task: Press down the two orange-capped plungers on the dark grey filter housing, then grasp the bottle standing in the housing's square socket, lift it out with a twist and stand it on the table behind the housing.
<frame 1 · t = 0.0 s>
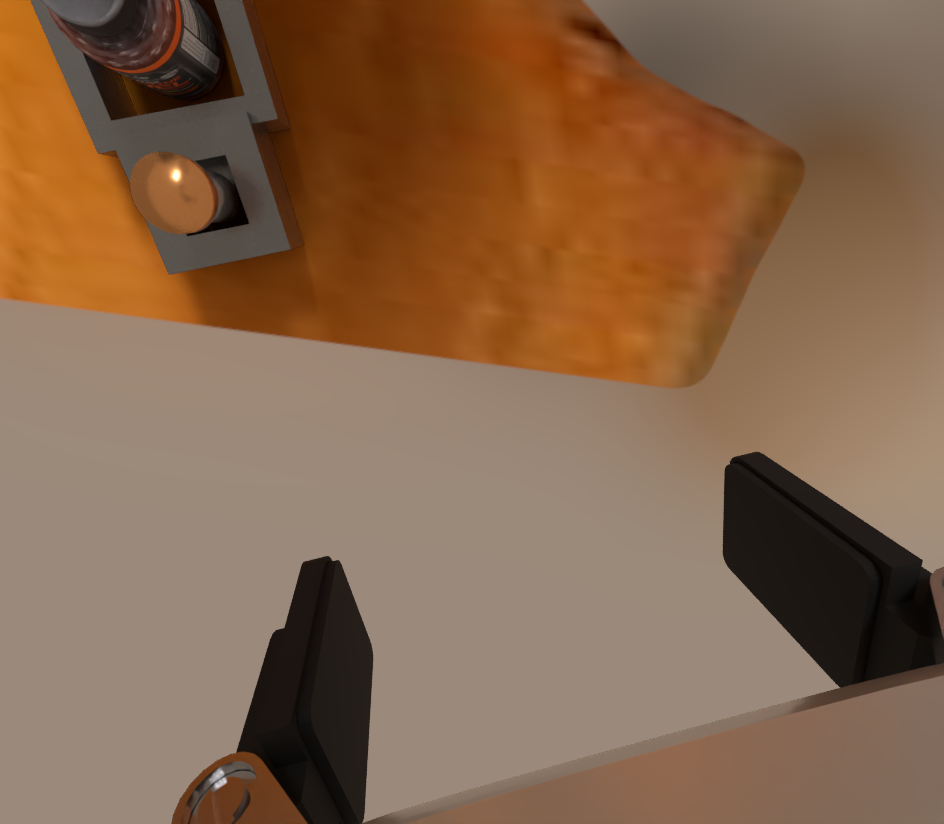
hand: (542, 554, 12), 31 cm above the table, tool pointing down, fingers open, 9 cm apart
housing: (177, 48, 31), on the table
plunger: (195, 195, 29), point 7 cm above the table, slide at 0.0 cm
supplement bottle: (179, 50, 32), resting in housing
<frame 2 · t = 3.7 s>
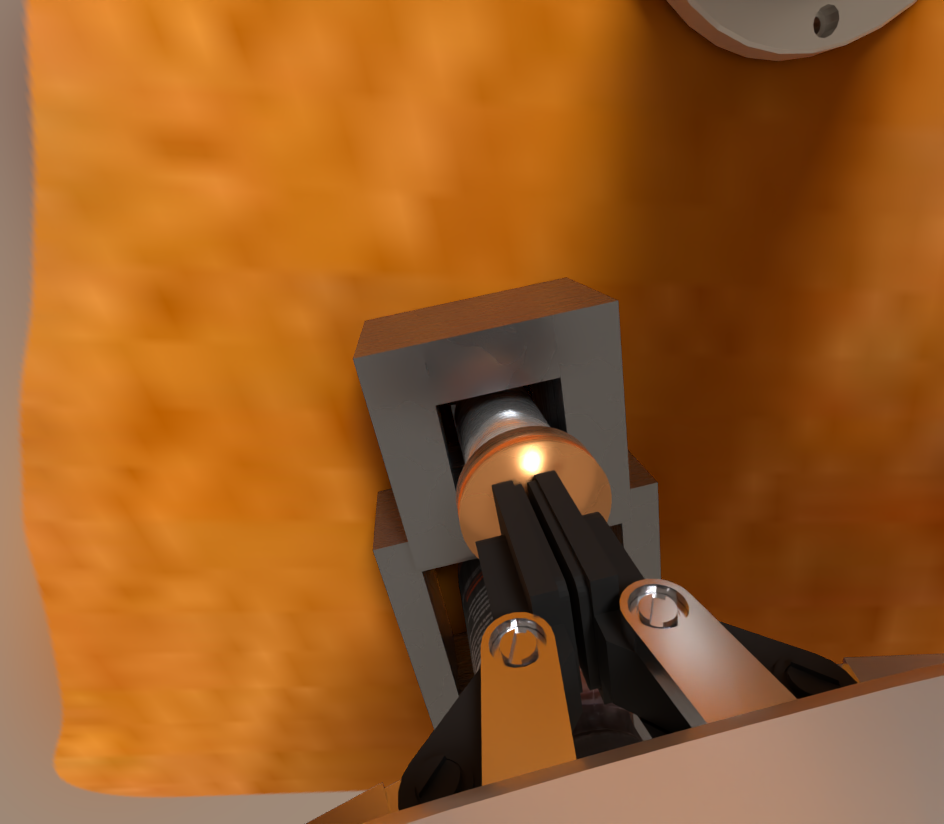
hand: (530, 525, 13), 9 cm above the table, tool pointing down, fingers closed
housing: (516, 558, 24), on the table
supplement bottle: (515, 555, 24), resting in housing
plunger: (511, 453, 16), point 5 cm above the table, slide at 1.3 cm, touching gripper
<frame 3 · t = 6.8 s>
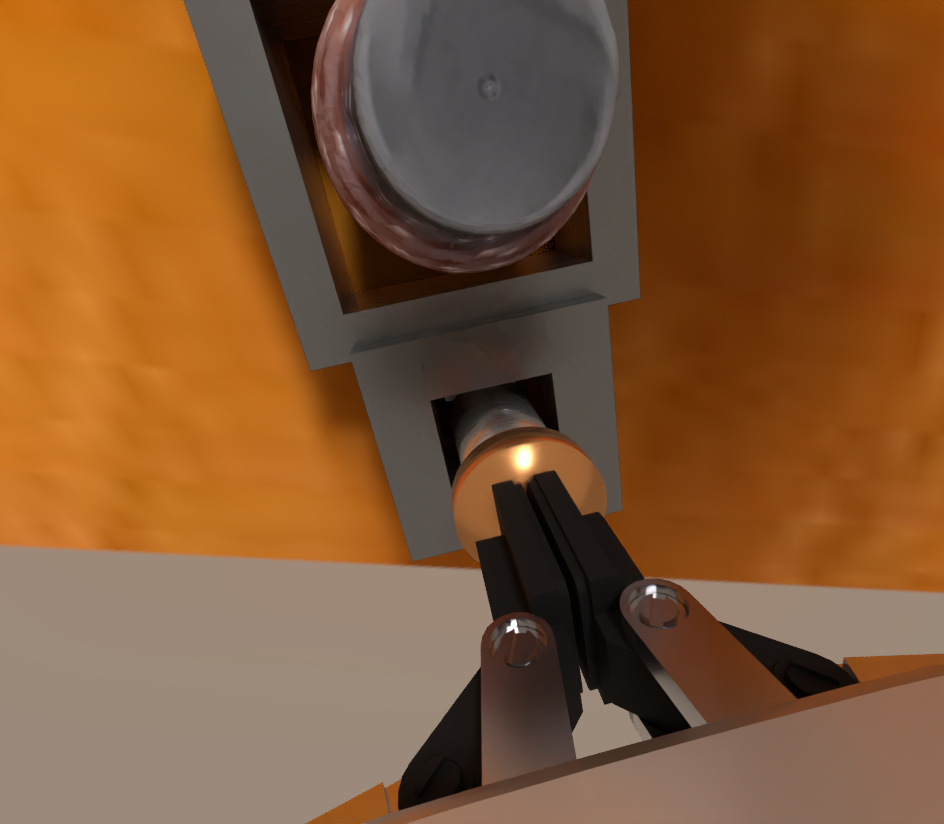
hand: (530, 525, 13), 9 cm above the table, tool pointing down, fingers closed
housing: (433, 157, 17), on the table
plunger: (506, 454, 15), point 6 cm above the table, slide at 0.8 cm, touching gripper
supplement bottle: (433, 157, 17), resting in housing
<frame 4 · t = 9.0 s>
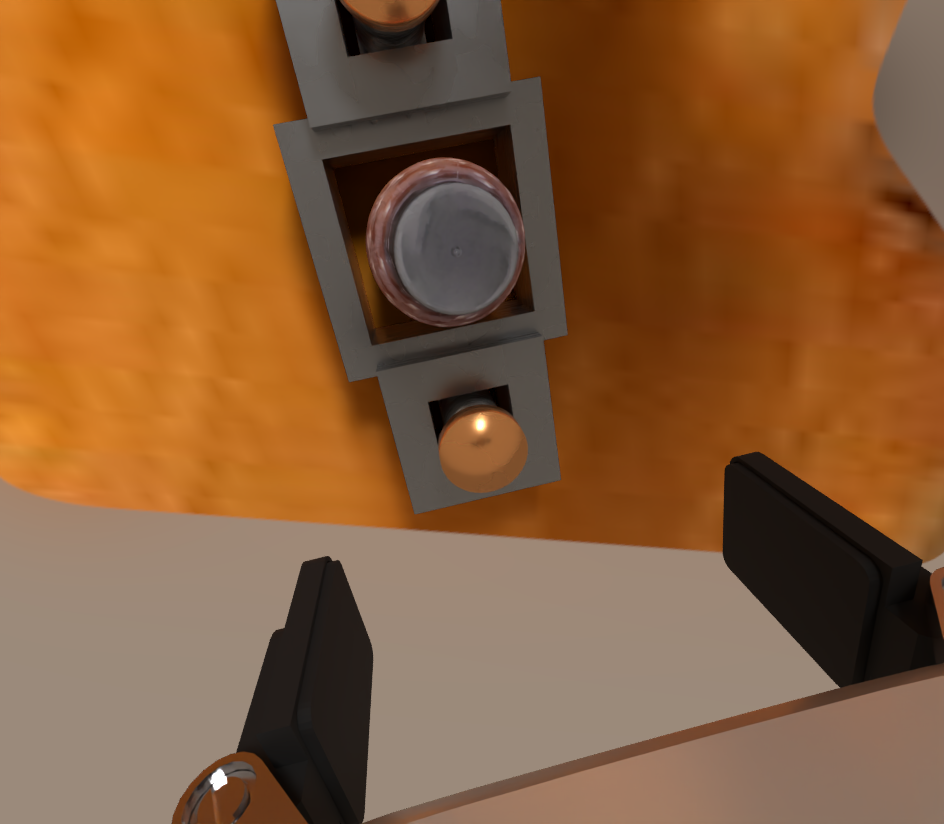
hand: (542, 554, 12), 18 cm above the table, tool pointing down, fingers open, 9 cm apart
housing: (431, 238, 26), on the table
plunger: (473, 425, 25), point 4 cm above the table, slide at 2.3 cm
supplement bottle: (430, 238, 26), resting in housing
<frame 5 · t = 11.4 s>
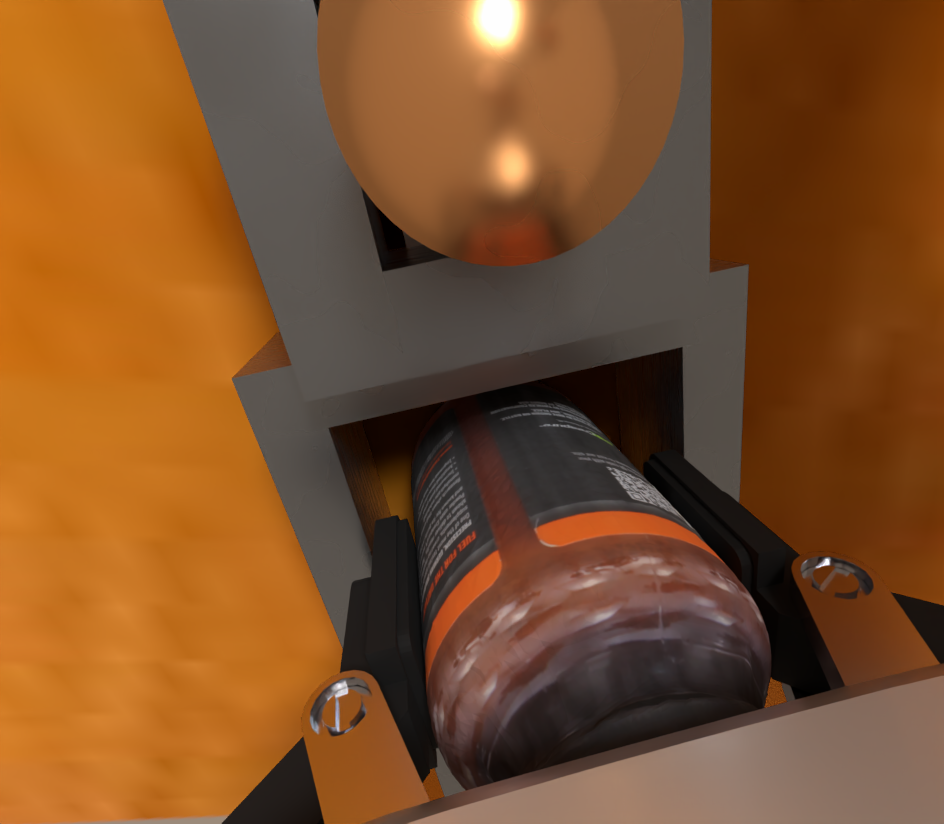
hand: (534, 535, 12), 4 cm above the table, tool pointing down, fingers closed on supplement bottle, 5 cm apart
housing: (502, 458, 16), on the table
supplement bottle: (501, 456, 16), resting in housing, touching gripper
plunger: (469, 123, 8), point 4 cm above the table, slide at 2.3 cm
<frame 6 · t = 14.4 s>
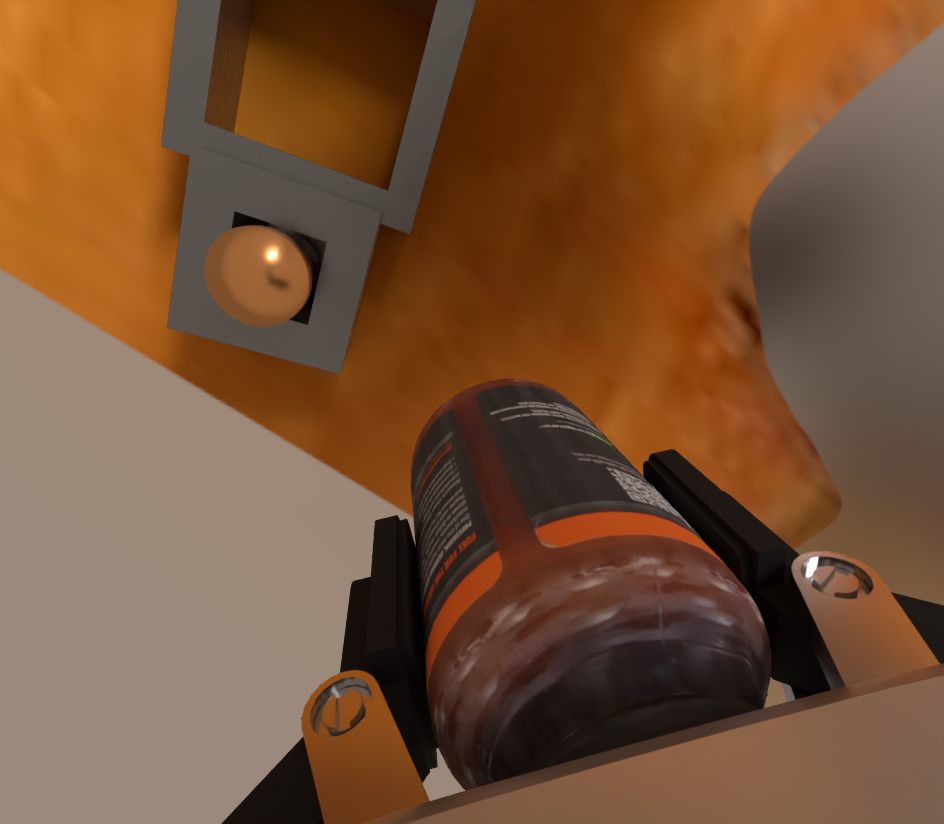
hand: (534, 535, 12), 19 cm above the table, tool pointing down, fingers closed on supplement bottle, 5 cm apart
housing: (332, 80, 24), on the table
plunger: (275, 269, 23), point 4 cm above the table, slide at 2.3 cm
supplement bottle: (500, 456, 16), point 15 cm above the table, touching gripper
when the fingers open (5 cm above the table, at t = 17.5 s): supplement bottle stays where it is, on the table.
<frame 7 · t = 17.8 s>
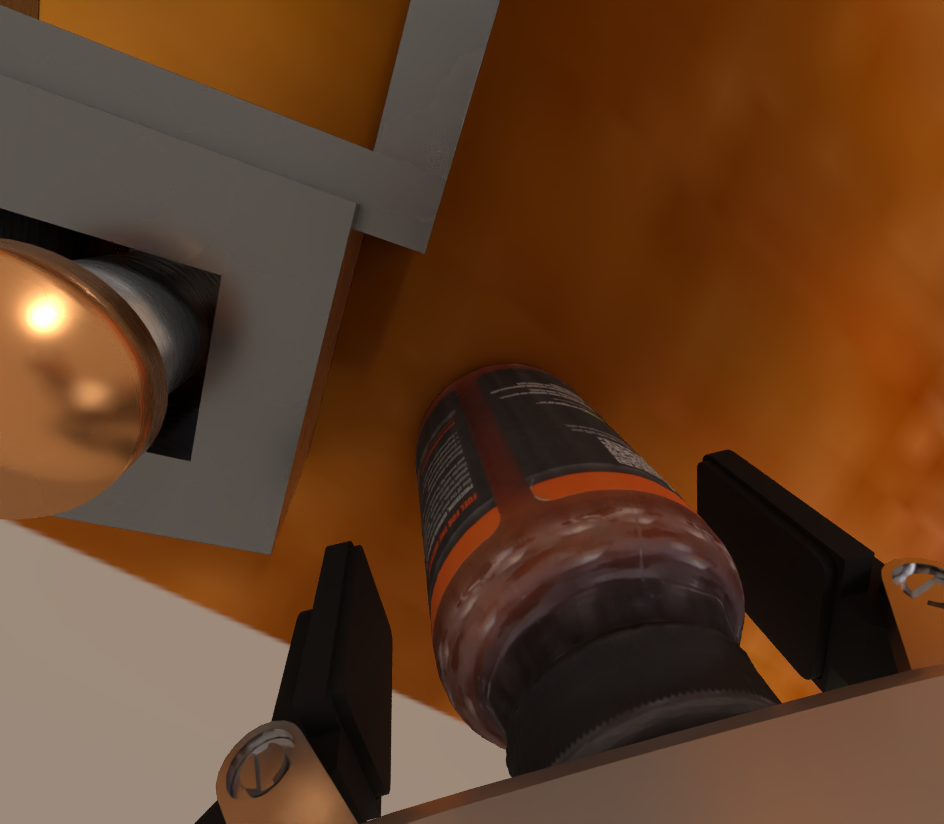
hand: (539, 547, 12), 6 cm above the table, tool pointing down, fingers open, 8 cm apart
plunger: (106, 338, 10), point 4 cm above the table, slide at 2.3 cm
supplement bottle: (500, 438, 17), on the table
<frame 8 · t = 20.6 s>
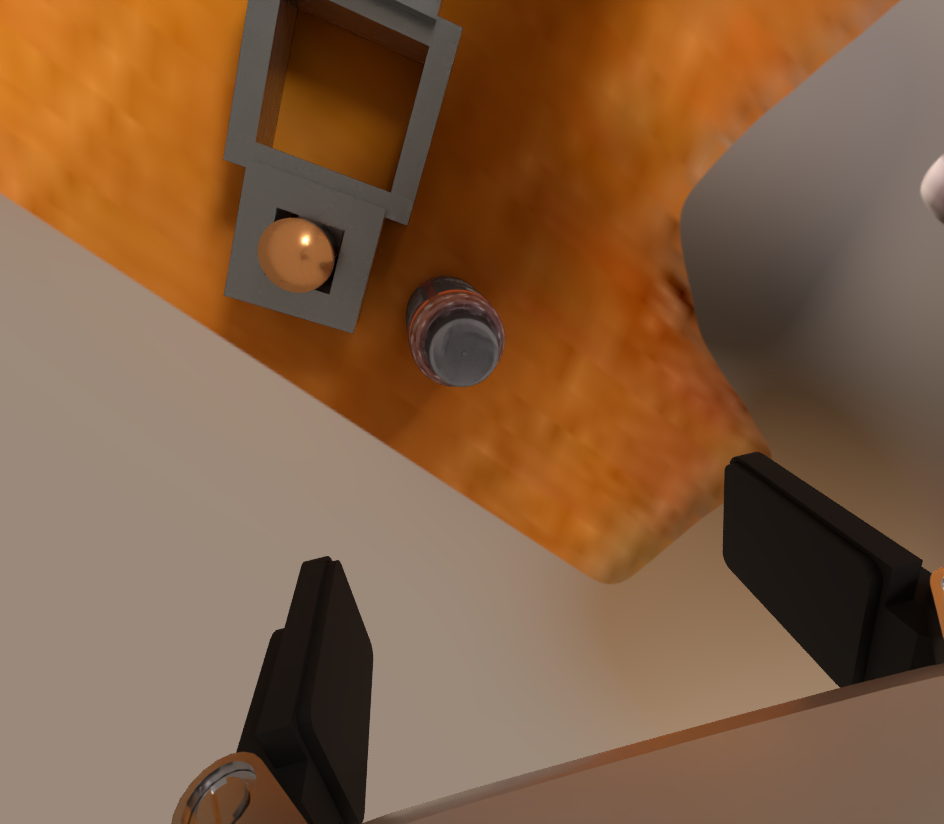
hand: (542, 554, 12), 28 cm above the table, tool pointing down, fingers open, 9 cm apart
housing: (348, 108, 31), on the table
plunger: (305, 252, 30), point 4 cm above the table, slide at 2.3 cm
supplement bottle: (444, 314, 38), on the table
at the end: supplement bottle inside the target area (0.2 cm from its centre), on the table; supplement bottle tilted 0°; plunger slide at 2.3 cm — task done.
